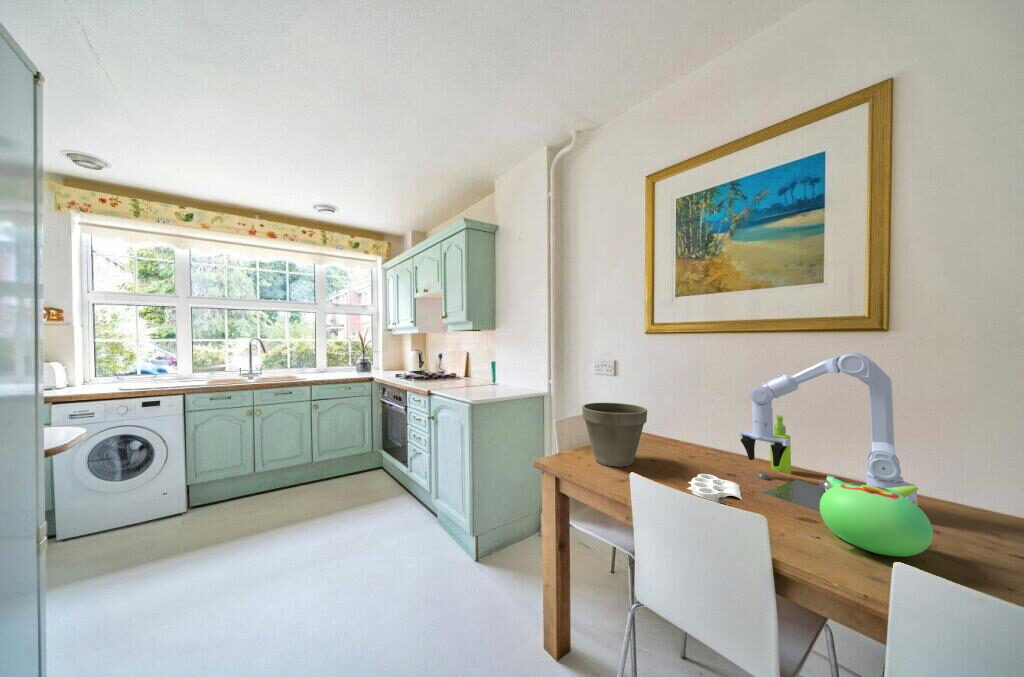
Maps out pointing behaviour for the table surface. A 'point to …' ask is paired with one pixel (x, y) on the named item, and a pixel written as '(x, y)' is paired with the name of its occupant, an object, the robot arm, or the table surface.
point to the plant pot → (614, 431)
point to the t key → (825, 483)
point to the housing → (799, 494)
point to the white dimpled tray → (713, 488)
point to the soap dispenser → (786, 457)
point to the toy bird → (876, 518)
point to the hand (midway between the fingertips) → (763, 462)
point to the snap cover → (763, 476)
